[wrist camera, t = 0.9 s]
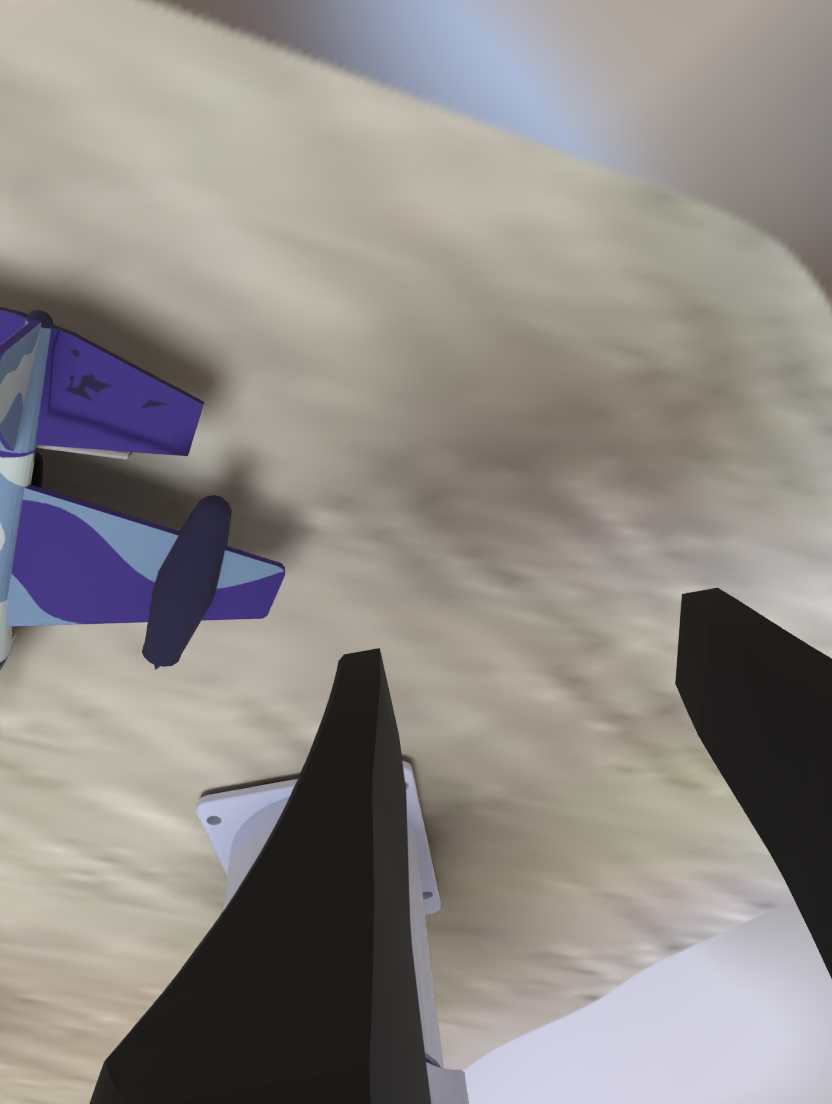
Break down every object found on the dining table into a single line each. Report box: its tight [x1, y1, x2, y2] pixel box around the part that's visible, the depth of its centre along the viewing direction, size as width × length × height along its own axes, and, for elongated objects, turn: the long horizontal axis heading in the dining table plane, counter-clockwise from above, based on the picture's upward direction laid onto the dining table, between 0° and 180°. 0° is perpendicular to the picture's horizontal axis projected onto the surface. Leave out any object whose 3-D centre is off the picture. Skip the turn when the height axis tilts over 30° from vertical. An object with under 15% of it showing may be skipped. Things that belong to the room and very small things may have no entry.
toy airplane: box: [0, 307, 285, 670], centre depth 19 cm, size 13×14×4 cm
